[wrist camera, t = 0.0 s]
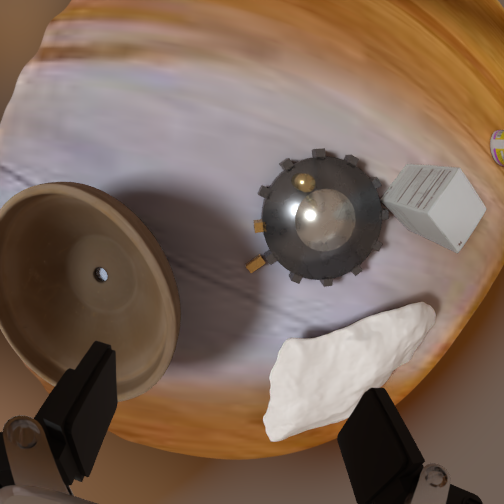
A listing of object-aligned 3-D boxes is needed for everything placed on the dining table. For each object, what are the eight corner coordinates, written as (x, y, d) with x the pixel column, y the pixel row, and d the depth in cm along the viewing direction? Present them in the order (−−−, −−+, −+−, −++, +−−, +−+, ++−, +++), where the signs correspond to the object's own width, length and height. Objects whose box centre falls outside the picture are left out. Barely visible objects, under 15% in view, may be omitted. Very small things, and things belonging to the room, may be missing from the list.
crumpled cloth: (209, 387, 46) (212, 431, 37) (378, 239, 39) (415, 267, 31) (297, 426, 54) (308, 461, 46) (432, 318, 48) (459, 346, 40)
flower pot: (10, 252, 39) (-39, 279, 26) (110, 133, 35) (59, 125, 22) (109, 373, 46) (84, 423, 34) (233, 292, 42) (231, 345, 30)
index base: (325, 190, 39) (327, 191, 38) (344, 220, 40) (346, 222, 39) (237, 253, 41) (237, 255, 40) (259, 281, 42) (259, 283, 41)
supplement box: (434, 195, 39) (488, 210, 27) (407, 231, 41) (458, 256, 29) (406, 161, 38) (461, 165, 26) (377, 199, 39) (427, 215, 27)
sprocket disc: (337, 123, 35) (354, 118, 30) (401, 232, 40) (422, 243, 34) (225, 202, 38) (222, 209, 32) (302, 304, 42) (311, 325, 37)
